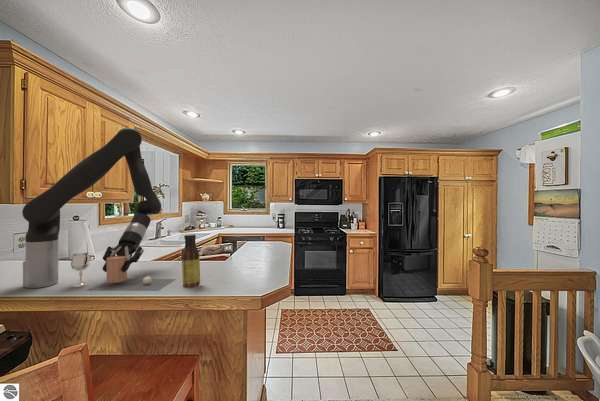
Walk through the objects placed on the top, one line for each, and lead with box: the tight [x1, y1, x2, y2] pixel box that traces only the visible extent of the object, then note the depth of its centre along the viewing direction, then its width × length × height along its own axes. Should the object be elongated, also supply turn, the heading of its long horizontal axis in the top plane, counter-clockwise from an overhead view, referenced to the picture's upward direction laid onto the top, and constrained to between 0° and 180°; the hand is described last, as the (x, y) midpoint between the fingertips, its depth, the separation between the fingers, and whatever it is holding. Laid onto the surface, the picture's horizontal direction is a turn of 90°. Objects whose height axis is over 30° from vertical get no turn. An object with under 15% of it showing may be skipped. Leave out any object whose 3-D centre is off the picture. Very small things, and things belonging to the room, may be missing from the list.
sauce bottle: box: [181, 233, 201, 288], centre depth 103 cm, size 7×6×20 cm
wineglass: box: [70, 252, 91, 288], centre depth 104 cm, size 6×6×12 cm
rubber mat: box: [87, 278, 177, 292], centre depth 104 cm, size 26×14×1 cm, turn 89°
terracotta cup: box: [105, 255, 128, 283], centre depth 104 cm, size 6×6×9 cm
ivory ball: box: [142, 276, 153, 285], centre depth 104 cm, size 3×3×3 cm
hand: (114, 270), depth 102 cm, fingers closed on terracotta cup, 6 cm apart
